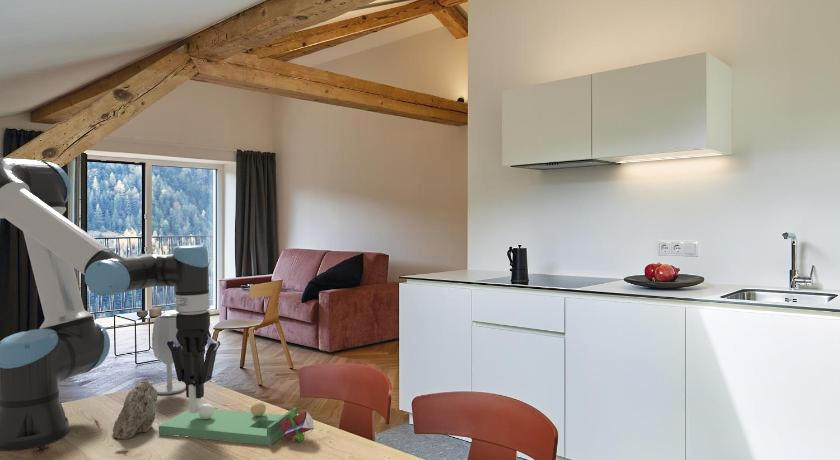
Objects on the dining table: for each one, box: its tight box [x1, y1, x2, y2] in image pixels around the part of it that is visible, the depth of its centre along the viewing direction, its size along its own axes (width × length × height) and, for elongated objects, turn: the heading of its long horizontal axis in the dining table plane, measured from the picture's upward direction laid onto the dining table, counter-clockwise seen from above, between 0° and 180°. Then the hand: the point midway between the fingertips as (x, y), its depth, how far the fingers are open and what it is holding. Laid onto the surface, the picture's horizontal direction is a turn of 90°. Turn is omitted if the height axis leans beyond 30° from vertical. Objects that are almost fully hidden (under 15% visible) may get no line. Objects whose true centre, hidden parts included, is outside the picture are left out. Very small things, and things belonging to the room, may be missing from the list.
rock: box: [112, 380, 158, 440], centre depth 143 cm, size 14×10×8 cm
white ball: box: [198, 403, 215, 419], centre depth 145 cm, size 4×4×4 cm
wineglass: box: [151, 314, 186, 395], centre depth 173 cm, size 9×9×21 cm
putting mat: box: [158, 407, 298, 446], centre depth 143 cm, size 28×13×4 cm, turn 76°
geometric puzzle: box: [279, 407, 315, 444], centre depth 137 cm, size 7×7×8 cm
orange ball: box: [250, 400, 267, 417], centre depth 146 cm, size 4×4×4 cm
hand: (195, 411), depth 145 cm, fingers closed
